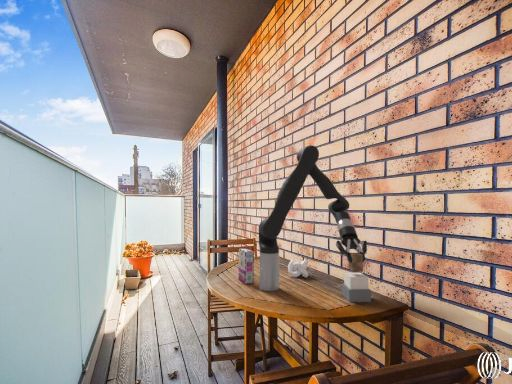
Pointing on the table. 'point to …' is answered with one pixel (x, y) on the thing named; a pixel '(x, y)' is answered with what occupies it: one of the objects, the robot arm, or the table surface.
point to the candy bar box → (246, 266)
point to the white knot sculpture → (298, 268)
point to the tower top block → (356, 280)
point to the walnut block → (356, 262)
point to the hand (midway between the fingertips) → (357, 261)
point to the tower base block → (356, 294)
